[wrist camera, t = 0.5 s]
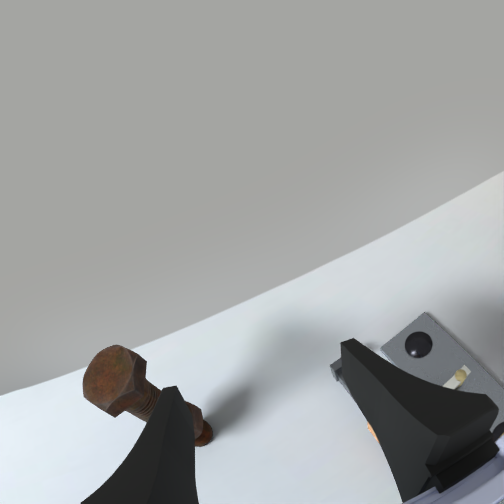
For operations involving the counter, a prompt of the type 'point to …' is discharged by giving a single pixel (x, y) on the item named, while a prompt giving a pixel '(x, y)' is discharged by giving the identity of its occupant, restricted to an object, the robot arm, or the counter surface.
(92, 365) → the bolt
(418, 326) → the hole plate
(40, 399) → the counter surface
